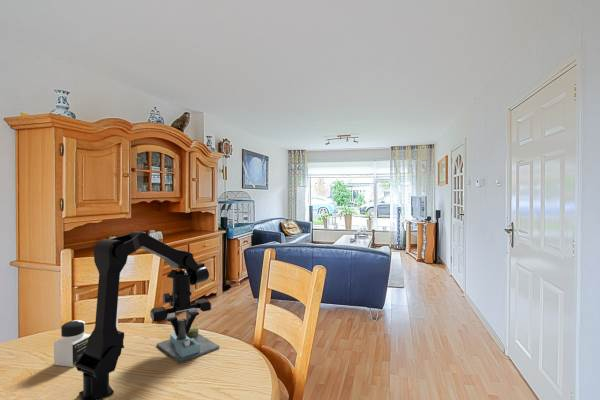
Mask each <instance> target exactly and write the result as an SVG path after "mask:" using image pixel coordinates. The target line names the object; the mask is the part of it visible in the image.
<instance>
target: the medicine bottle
mask: <svg viewBox="0 0 600 400" xmlns="http://www.w3.org/2000/svg"><path fill="white" fill-rule="evenodd" d="M90 335H91V333H86V322H85V321H84V320H80V319H76V320H70V321H67V322H65V323H63V324H62V325H61V338H60V339H57V340H56V341H54V342H53V365H55V366H62V367H67V368H74V367H76V366H75V364H76V362H77V361H78V360H79V358H80V357H81V356H82V354H83V353H84V352H85V350H86V346H87V342H88V338H89V337H90Z"/></svg>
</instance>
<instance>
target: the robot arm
mask: <svg viewBox="0 0 600 400" xmlns="http://www.w3.org/2000/svg"><path fill="white" fill-rule="evenodd" d="M139 249H142V250H144V251H147V252H149V253H151V254H153V255H154V256H157V257H159V258H161V259H162V260H164V262H165V264H167V265H168V266H169V267H171V268H172V269H171V271H170V272H169V273H168V274H167V275H166V277H167V278H169V279H171V281H172V290H171V294H170V292H168V293H166V292H165V293H163V294H162V302H163V304H168V306H170V308H165V306H164V305H163V306H158V307H152V308H151V309H150V312H149V314H150V315H149V316H150V319H151V320H152V321H153V322H155V323H156V322H160V321H165V320H166V321H167V322H170V324H171V326H172V328H173V332H174V333H175V335H176V336H178V321H177V320H178V317H177V316H176V314H179V313H183V312H185V317H186V318H185V319H186V334H188V332H189V330H190V327H191V325H192V323H194V321H195V319H196V318H197V316H199V315H200V313H199V311H198V310H200V311H201V312H208V311H211V310H212V303H211V301H209V300H208V299H206V298H199V299H195V301H194V303H191V300H192V297H191V296H192V291H191V286H195V285H197V284H201V283H205V282H207V280H208V279H209V278H210V273H209V270H208V268H207V267H206V265H205V263H203V262H199V263H197V261H196V260H195V258H194V254H193V253H192V252H190V251H186V250H182V249H177V248H173V246H172V247H171V246H170V245H168V244H167V243H164V242H163V241H161V240H158V239H157V238H155V237H153V236H151V235H149V234H148V233H147V232H145V231H137V230H134V231H132V232H129V233H128V234H127V233H126V234H123V235H120V236H115V237H113V238H108V239H107V238H103V239H101V240H99V241H98V242H97V243H95V244H94V246H93V260H94V264H95V267H96V269H97V271H98V285H97V297H96V298H97V299H96V309H95V311H96V312H95V321H94V329H93V330H92V332H91V333H90V334H91V335H90V337H89V338H88V342H87V346H86V350H85V352H84V353H83V354H82V356H81V357H80V358H79V360H78V361H77V362H76V364H75V366H74V367H75V368H76V370H77V371H78V372H81V373H82V389H83V390H81V391H79V392H78V395H79V397H80V399H81V400H102V399H104V398H106V397H109V396H111V395H113V394H114V393H115V392H114V390H113V388H112V387H111V385H110V373H112V372H114V371H115V370H116V367H117V363H118V360H119V357H121V353H122V350H123V349H124V348H125V345H124V339H125V333H124V332H123V331H120V330H119V329H118V330H117V328H116V319H117V308H118V307H119V306H118V305H119V291H120V279H121V272H122V270H123V269H124V267H125V266H126V264H127V261H128V258H129V256H130V255H132V254H133V253H135V252H137V251H138V250H139ZM173 268H174V269H173ZM176 269H180V270H176Z"/></svg>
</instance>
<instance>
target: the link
mask: <svg viewBox="0 0 600 400" xmlns="http://www.w3.org/2000/svg"><path fill="white" fill-rule="evenodd" d="M177 321H178V336H176V335H175V332H174V333H171V334H169V336H170V337H169V338H170V341H171V342H172V344H173V345H174V346H175V351H176V352H177V353H178V354H179V355H180V356H181V358H182V357H185V356H188V355H191V354H195V353H198V352H200V344H199V343H198V342H197V341H196V340H195V339H194V338H192V339H190V338H189V337H187V336H186V318H179V319H177ZM186 339H190V346H187V347H185V340H186Z"/></svg>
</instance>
